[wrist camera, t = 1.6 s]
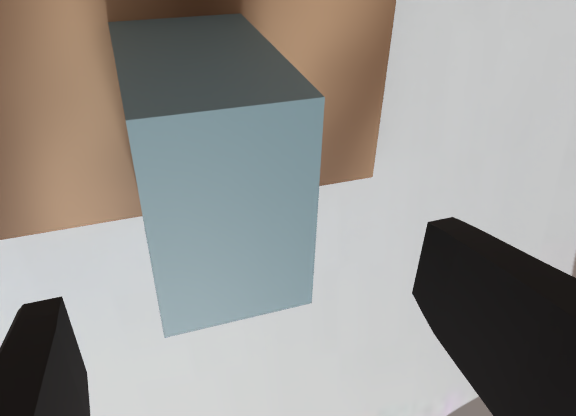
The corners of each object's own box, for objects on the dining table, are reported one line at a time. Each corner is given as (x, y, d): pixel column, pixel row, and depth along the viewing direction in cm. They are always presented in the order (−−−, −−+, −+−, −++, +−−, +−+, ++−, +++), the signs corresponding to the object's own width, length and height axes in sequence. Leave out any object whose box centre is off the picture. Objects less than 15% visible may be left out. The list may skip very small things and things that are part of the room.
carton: (138, 193, 18) (164, 337, 13) (107, 21, 15) (125, 120, 9) (249, 175, 19) (316, 301, 14) (245, 13, 16) (331, 96, 11)
